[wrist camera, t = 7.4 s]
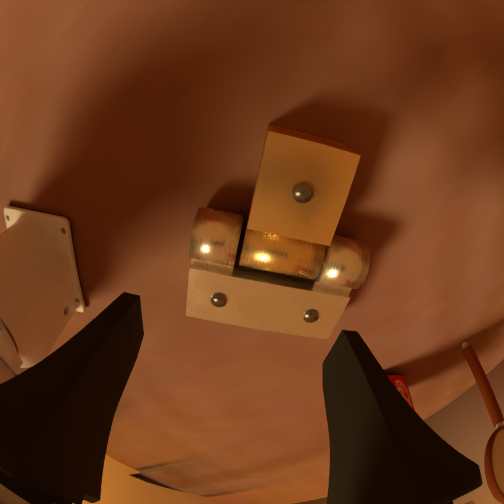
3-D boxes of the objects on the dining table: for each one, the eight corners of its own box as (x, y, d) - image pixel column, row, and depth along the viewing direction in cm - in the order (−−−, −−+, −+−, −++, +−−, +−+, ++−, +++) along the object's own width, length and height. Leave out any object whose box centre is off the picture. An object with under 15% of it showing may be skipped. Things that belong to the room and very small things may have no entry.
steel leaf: (323, 315, 21) (329, 345, 19) (193, 292, 21) (184, 321, 18) (361, 232, 17) (375, 258, 15) (204, 198, 17) (192, 220, 14)
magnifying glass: (486, 338, 23) (541, 480, 6) (478, 348, 24) (528, 488, 7) (444, 333, 22) (504, 513, 5) (435, 344, 23) (487, 521, 6)
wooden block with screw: (268, 124, 14) (268, 131, 12) (344, 144, 15) (361, 156, 12) (241, 248, 19) (236, 277, 16) (306, 261, 19) (312, 291, 16)
